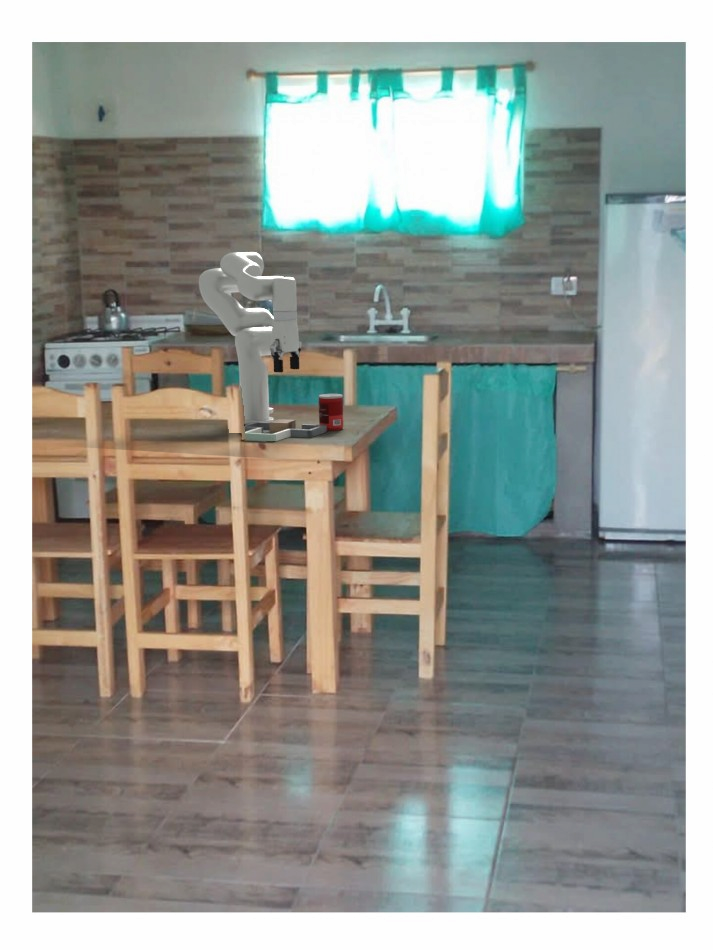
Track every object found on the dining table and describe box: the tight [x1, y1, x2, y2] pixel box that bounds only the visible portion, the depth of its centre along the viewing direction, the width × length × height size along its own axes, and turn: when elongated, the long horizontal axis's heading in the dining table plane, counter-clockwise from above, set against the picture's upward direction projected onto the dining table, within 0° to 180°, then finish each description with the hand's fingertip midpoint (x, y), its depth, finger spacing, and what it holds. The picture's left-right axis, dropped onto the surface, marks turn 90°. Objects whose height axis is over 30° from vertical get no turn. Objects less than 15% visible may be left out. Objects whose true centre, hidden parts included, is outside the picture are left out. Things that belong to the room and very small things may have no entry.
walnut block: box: [269, 418, 297, 434], centre depth 395 cm, size 7×6×4 cm
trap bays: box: [244, 422, 328, 438], centre depth 395 cm, size 11×25×2 cm, turn 66°
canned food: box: [318, 393, 344, 432], centre depth 401 cm, size 8×8×11 cm
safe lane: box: [245, 428, 292, 442], centre depth 385 cm, size 11×11×2 cm
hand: (286, 370), depth 398 cm, fingers open, 9 cm apart
